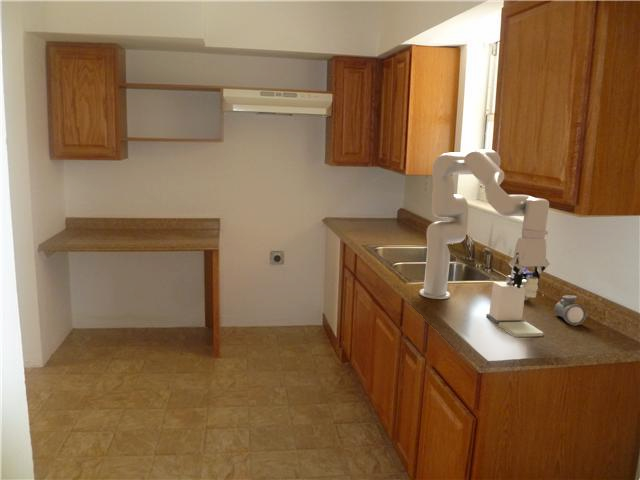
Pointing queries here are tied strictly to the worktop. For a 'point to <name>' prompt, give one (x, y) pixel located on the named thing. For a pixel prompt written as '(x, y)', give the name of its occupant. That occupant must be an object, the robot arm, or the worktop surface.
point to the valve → (527, 285)
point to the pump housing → (506, 302)
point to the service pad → (520, 329)
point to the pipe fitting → (570, 310)
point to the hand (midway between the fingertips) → (526, 283)
